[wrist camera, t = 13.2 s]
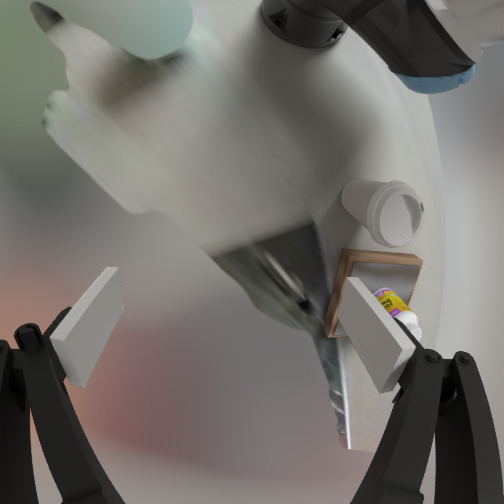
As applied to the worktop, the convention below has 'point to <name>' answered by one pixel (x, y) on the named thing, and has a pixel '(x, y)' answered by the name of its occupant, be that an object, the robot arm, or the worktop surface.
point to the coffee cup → (385, 210)
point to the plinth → (372, 279)
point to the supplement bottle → (398, 310)
